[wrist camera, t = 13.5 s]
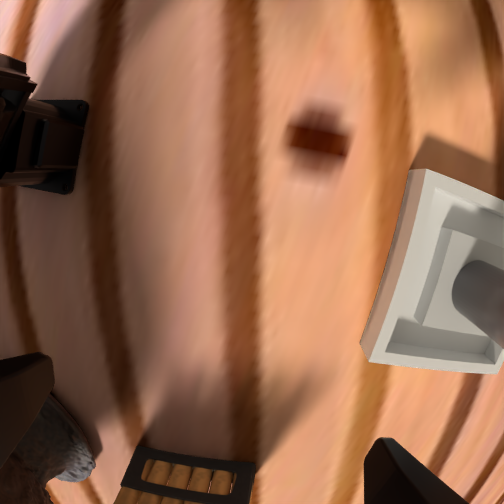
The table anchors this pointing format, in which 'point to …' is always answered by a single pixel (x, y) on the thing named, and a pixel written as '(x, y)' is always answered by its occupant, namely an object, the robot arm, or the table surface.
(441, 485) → the robot arm
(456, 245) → the grey upright post
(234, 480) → the ammunition clip
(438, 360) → the tray
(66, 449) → the decorative urn
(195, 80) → the table surface
